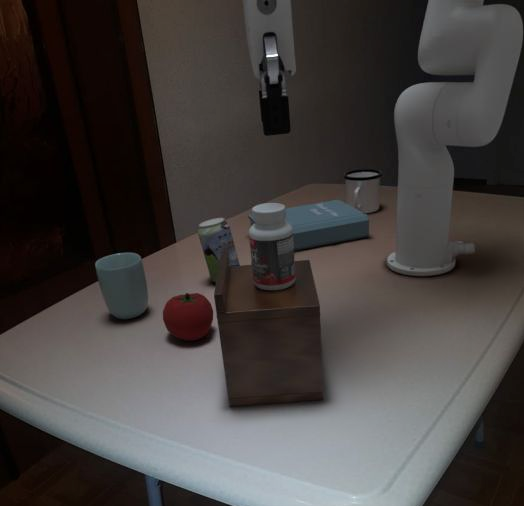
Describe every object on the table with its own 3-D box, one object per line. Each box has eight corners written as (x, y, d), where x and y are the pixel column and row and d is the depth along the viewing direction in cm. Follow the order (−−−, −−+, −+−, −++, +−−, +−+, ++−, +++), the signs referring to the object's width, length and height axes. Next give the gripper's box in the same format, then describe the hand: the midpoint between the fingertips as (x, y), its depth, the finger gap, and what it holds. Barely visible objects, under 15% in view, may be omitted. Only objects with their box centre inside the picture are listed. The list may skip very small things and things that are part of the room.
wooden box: (313, 342, 84) (308, 243, 76) (323, 399, 70) (319, 286, 63) (233, 348, 84) (221, 250, 76) (229, 406, 71) (213, 294, 63)
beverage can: (238, 287, 105) (230, 224, 99) (200, 287, 106) (191, 225, 100) (245, 274, 110) (239, 214, 104) (210, 274, 111) (201, 215, 106)
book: (338, 220, 136) (338, 199, 133) (368, 238, 122) (369, 215, 120) (250, 236, 131) (247, 215, 128) (271, 256, 117) (269, 233, 115)
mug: (348, 204, 147) (348, 169, 143) (384, 204, 144) (385, 168, 139) (337, 217, 138) (336, 180, 133) (375, 218, 134) (375, 180, 130)
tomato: (214, 320, 93) (208, 280, 89) (218, 343, 86) (212, 300, 82) (166, 328, 92) (158, 287, 89) (166, 351, 85) (158, 308, 82)
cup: (113, 328, 94) (100, 272, 89) (103, 312, 100) (89, 259, 95) (157, 315, 96) (147, 261, 92) (144, 300, 103) (134, 249, 98)
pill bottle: (245, 286, 71) (236, 210, 66) (271, 272, 74) (265, 199, 69) (278, 295, 67) (271, 215, 63) (304, 279, 71) (300, 203, 66)
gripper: (302, -50, 54) (312, 136, 62) (290, -33, 69) (299, 115, 77) (225, -41, 54) (245, 143, 63) (230, -26, 69) (245, 121, 78)
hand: (275, 127), depth 70 cm, fingers open, 9 cm apart
